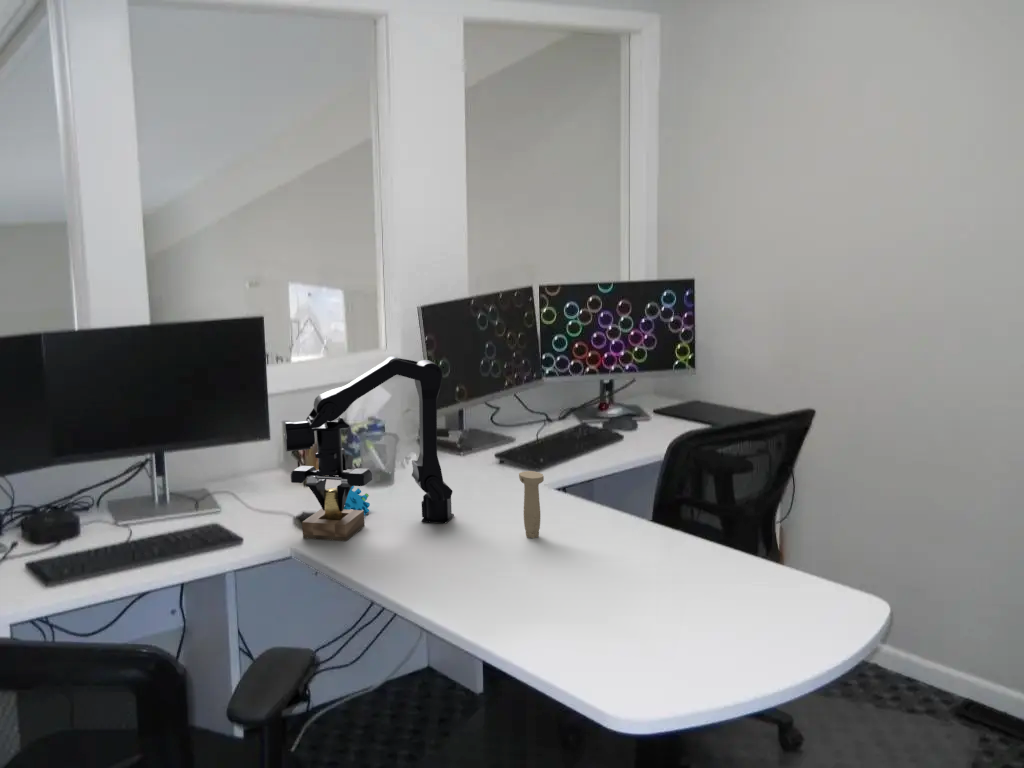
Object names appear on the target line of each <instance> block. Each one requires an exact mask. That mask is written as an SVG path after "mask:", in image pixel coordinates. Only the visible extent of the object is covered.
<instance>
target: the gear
mask: <svg viewBox="0 0 1024 768" xmlns="http://www.w3.org/2000/svg"><path fill="white" fill-rule="evenodd" d="M354 488H355V486H352V487H351V489H350V491H349V493H348V496H347V499H346V503H345V506H344V509H346V510H363V511H364V516H365V515H367V514H368V513H369V512H370V509H369V507H370V505H371V504H370V502H368V501H367V500H368V497H370V495H369V493H364V494H362V495H361V493H362V490H361V489H360V488H357V489H355V491H354V490H353V489H354Z"/></svg>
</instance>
